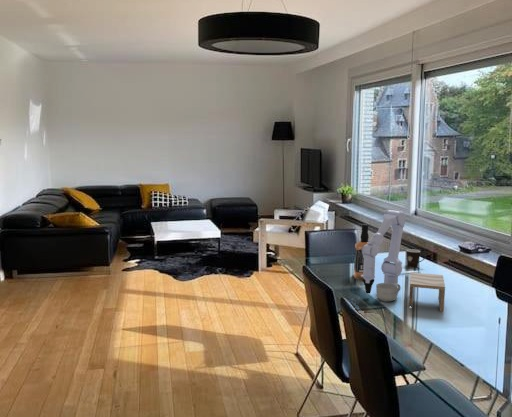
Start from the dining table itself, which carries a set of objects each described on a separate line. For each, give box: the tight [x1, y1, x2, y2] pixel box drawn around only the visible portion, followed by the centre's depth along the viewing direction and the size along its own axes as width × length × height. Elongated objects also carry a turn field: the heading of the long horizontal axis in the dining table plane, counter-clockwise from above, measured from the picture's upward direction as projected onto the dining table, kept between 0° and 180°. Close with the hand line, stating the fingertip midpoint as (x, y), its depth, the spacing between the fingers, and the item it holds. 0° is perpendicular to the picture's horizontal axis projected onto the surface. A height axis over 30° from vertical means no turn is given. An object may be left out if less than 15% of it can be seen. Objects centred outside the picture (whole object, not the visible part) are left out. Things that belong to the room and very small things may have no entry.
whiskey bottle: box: [352, 223, 370, 280], centre depth 306 cm, size 10×10×32 cm
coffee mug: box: [406, 248, 425, 268], centre depth 334 cm, size 12×9×10 cm
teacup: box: [375, 282, 402, 302], centre depth 267 cm, size 14×11×8 cm
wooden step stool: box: [408, 272, 446, 313], centre depth 261 cm, size 22×16×12 cm
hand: (368, 293), depth 270 cm, fingers closed
